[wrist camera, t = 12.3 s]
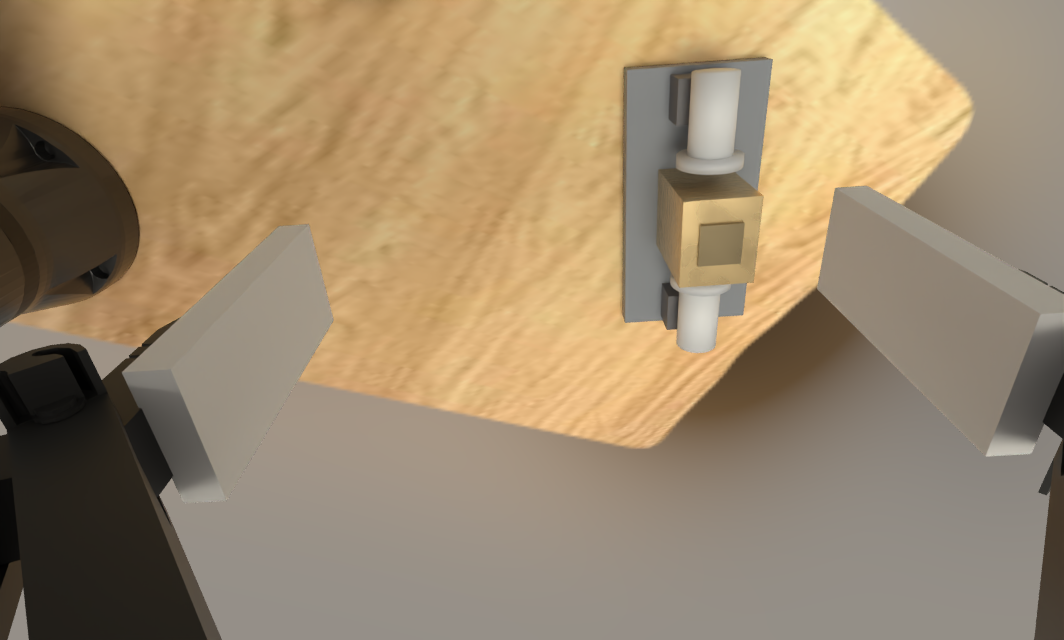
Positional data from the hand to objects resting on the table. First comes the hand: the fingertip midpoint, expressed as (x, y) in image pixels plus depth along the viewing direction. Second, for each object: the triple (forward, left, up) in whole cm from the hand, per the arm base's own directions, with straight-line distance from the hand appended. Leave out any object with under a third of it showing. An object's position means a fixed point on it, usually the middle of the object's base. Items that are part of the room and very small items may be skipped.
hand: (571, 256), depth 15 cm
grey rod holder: (+11, -9, -32) cm, 35 cm away
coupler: (+11, -9, -30) cm, 33 cm away
